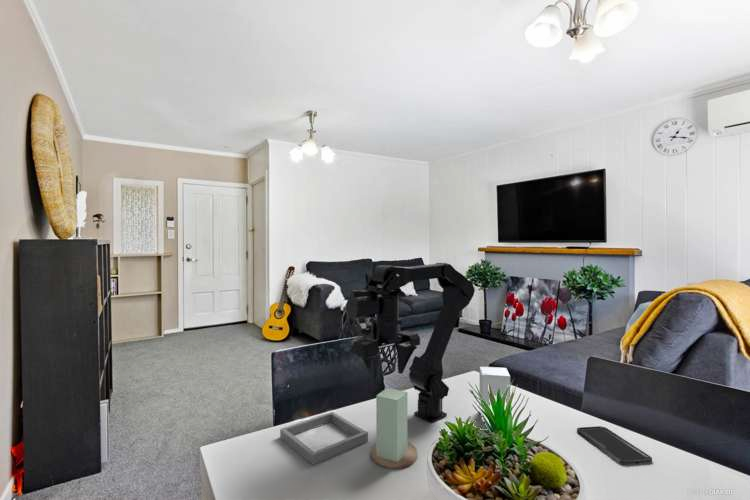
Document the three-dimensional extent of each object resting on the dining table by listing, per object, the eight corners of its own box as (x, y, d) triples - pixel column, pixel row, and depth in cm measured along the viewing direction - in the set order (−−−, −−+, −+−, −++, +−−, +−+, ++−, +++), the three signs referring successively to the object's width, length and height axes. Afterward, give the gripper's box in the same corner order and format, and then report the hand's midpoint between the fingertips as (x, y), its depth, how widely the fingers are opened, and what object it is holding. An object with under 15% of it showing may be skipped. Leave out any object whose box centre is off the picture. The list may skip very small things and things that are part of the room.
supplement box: (511, 425, 97) (511, 376, 97) (481, 422, 98) (481, 374, 98) (506, 413, 104) (507, 367, 104) (479, 410, 106) (479, 365, 106)
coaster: (395, 439, 90) (395, 434, 90) (426, 456, 82) (426, 452, 82) (362, 454, 84) (362, 449, 84) (393, 474, 76) (393, 469, 76)
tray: (332, 419, 101) (332, 411, 101) (367, 441, 89) (367, 432, 89) (280, 437, 91) (280, 429, 91) (312, 464, 79) (312, 455, 79)
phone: (603, 426, 95) (654, 459, 80) (603, 430, 95) (654, 464, 80) (574, 427, 94) (621, 461, 79) (574, 432, 94) (621, 467, 79)
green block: (387, 445, 85) (387, 387, 85) (407, 451, 83) (407, 391, 83) (376, 455, 81) (376, 395, 81) (397, 462, 79) (397, 400, 78)
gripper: (392, 307, 107) (392, 362, 107) (338, 315, 95) (338, 377, 95) (421, 312, 99) (421, 372, 99) (365, 322, 87) (365, 390, 87)
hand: (387, 377), depth 95 cm, fingers open, 9 cm apart
